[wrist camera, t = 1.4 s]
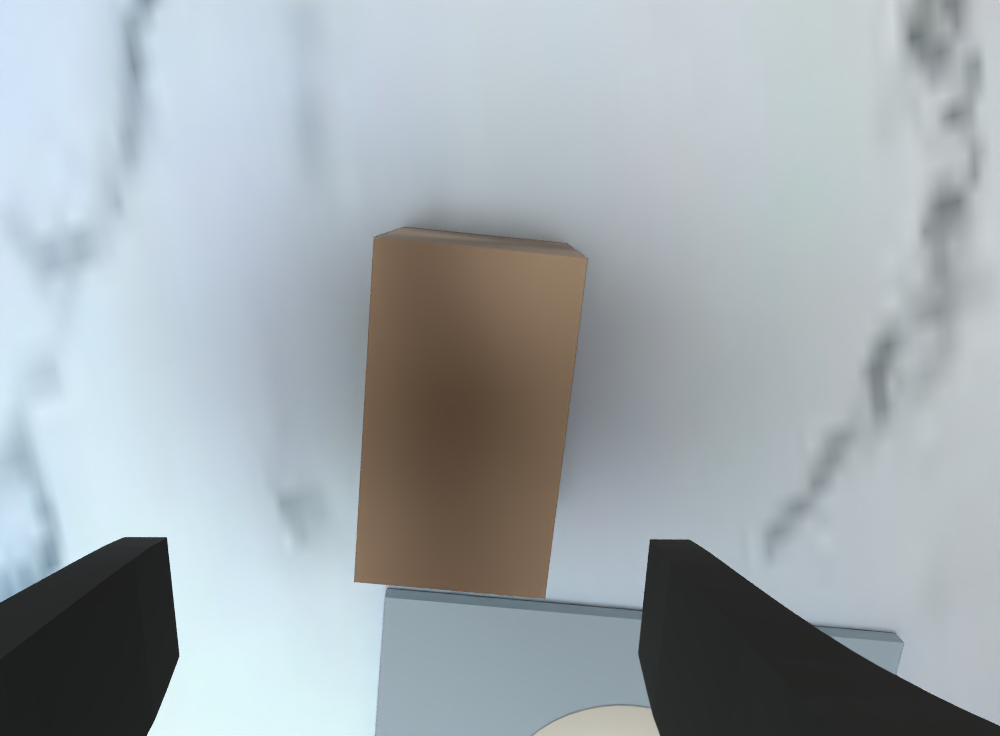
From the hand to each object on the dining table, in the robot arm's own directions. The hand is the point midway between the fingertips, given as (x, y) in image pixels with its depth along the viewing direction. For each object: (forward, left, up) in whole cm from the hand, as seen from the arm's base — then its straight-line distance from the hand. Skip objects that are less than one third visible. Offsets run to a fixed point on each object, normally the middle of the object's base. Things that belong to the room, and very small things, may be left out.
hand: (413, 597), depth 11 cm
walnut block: (0, -1, -11) cm, 11 cm away
